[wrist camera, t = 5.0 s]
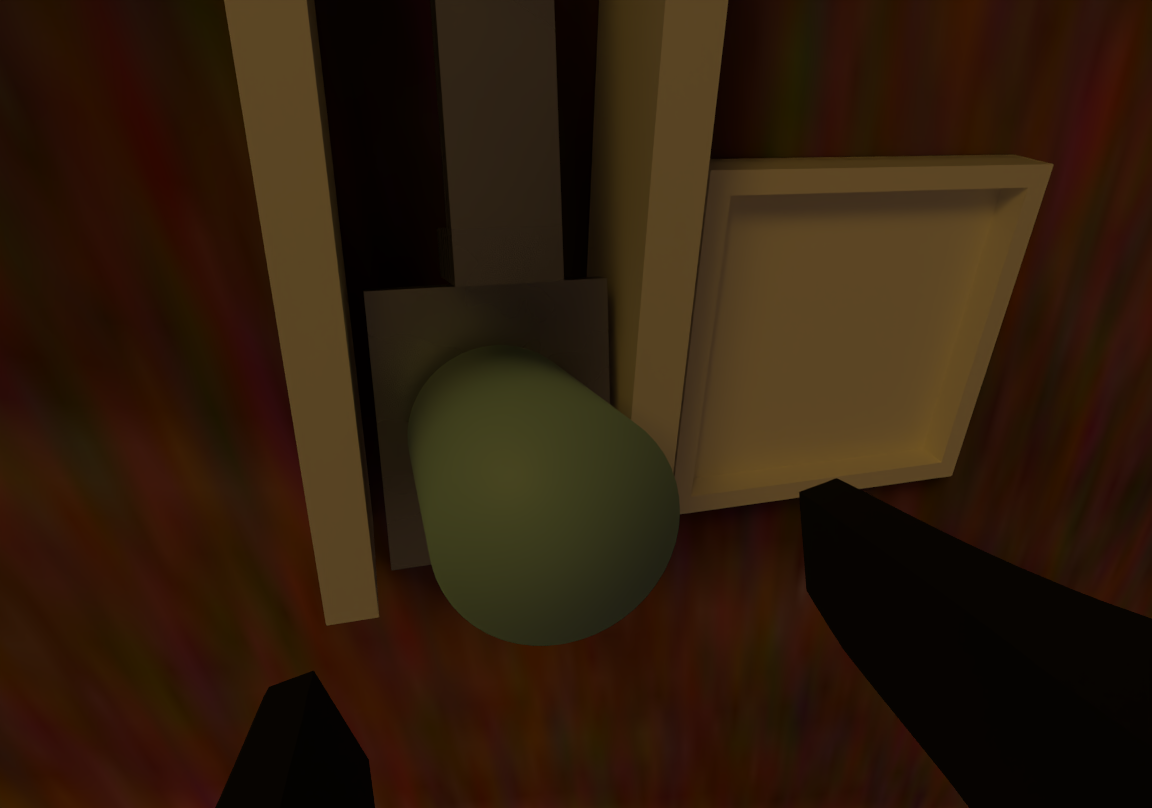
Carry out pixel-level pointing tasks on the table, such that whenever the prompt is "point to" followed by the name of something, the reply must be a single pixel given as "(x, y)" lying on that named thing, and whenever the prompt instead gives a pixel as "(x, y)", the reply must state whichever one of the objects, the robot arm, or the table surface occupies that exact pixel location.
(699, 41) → the beige h-shaped piece
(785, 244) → the tray
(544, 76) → the lever
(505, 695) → the table surface
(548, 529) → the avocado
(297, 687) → the robot arm
